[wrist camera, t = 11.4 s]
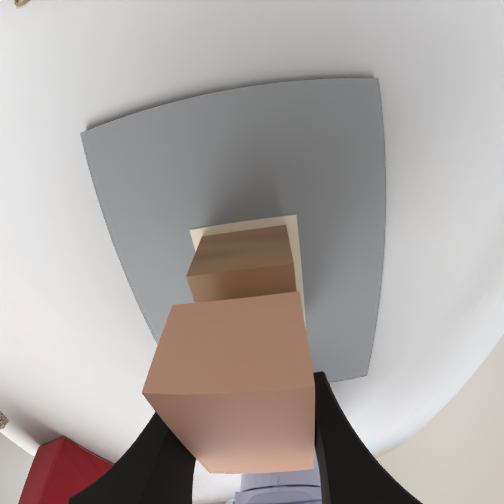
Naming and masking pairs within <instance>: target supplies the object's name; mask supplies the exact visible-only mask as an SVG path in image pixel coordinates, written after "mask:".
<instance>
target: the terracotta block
mask: <svg viewBox="0 0 504 504" xmlns="http://www.w3.org/2000/svg"><path fill="white" fill-rule="evenodd" d="M142 394H143V395H144V396H145V398H146V399H147V400H148V402H149V403H150V404H151V406H152V407H153V408H154V410H155V411H156V412H157V414H158V415H159V416H160V417H161V419H162V420H163V421H164V422H165V424H166V425H167V426H168V427H169V428H170V430H171V431H172V432H173V433H174V434H175V436H176V437H177V438H178V439H179V440H180V441H181V443H182V444H183V445H184V446H185V447H186V448H187V449H188V450H189V452H190V453H191V454H192V455H193V456H194V457H195V458H196V459H197V460H198V461H199V462H200V463H201V464H202V465H203V466H204V467H205V468H206V470H207V471H208V472H209V473H226V474H251V473H275V472H288V471H298V470H307V469H313V466H314V437H315V383H314V376H313V370H312V363H311V357H310V351H309V345H308V339H307V333H306V327H305V322H304V316H303V310H302V305H301V299H300V294H299V291H296V292H289V293H281V294H273V295H265V296H256V297H247V298H238V299H229V300H220V301H210V302H199V303H188V304H177V305H172V308H171V310H170V313H169V316H168V318H167V321H166V324H165V327H164V329H163V332H162V335H161V338H160V341H159V343H158V346H157V349H156V352H155V355H154V358H153V361H152V364H151V367H150V370H149V373H148V376H147V379H146V382H145V385H144V388H143V391H142Z"/></svg>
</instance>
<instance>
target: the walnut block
mask: <svg viewBox="0 0 504 504" xmlns="http://www.w3.org/2000/svg"><path fill="white" fill-rule="evenodd" d="M186 278H187V281H188V284H189V287H190V290H191V293H192V296H193V299H194V302H195V303H199V302H210V301H220V300H229V299H238V298H247V297H256V296H265V295H273V294H281V293H289V292H296V291H297V290H296V280H295V270H294V262H293V257H292V251H291V246H290V241H289V236H288V232H287V227H286V225H280V226H272V227H265V228H257V229H250V230H243V231H236V232H229V233H222V234H215V235H208V236H202V237H201V240H200V242H199V245H198V247H197V250H196V252H195V255H194V257H193V260H192V262H191V265H190V268H189V270H188V273H187V275H186Z"/></svg>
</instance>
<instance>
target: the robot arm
mask: <svg viewBox="0 0 504 504" xmlns="http://www.w3.org/2000/svg"><path fill="white" fill-rule="evenodd" d="M313 376H314V383H315V437H314V466H313V469H307V470H298V471H288V472H275V473H251V474H241V490H240V492H235V499H231V500H228V501H227V503H226V504H422V503H421V502H420V501H418V500H417V499H416V498H415V497H413V496H412V495H411V494H410V493H409V492H407V491H406V490H405V489H404V488H403V487H402V486H401V485H400V484H399V483H398V482H396V481H395V480H394V479H393V478H392V476H391V475H390V474H389V473H388V472H387V471H386V470H385V469H384V468H383V467H382V466H381V465H380V464H379V463H378V461H377V460H376V459H375V458H374V457H373V455H372V454H371V453H370V452H369V450H368V449H367V448H366V446H365V445H364V444H363V442H362V441H361V440H360V438H359V437H358V435H357V434H356V432H355V431H354V429H353V428H352V426H351V425H350V423H349V421H348V420H347V418H346V416H345V415H344V413H343V411H342V409H341V408H340V406H339V404H338V402H337V400H336V398H335V396H334V394H333V392H332V390H331V387H330V385H329V383H328V380H327V377H326V374H325V372H323V371H321V372H314V373H313ZM195 462H196V458H195V457H194V456H193V455H192V454H191V453H190V452H189V450H188V449H187V448H186V447H185V446H184V445H183V444H182V443H181V441H180V440H179V439H178V438H177V437H176V436H175V434H174V433H173V432H172V431H171V430H170V428H169V427H168V426H167V425H166V424H165V422H164V421H163V420H162V419H161V417H160V416H159V415H158V414H157V412H155V414H154V415H153V417H152V418H151V420H150V421H149V423H148V424H147V426H146V427H145V428H144V430H143V431H142V432H141V434H140V435H139V437H138V438H137V439H136V441H135V442H134V443H133V444H132V446H131V447H130V448H129V449H128V450H127V451H126V453H125V454H124V455H123V456H122V457H121V458H120V459H119V460H118V461H117V462H116V463H115V464H114V465H113V466H112V467H111V468H110V469H109V470H108V471H107V472H106V473H105V474H103V475H102V476H101V477H100V478H98V479H97V480H96V481H95V482H93V483H92V484H91V485H89V486H88V487H87V488H85V489H83V490H82V491H80V492H79V493H77V494H76V495H74V496H72V497H71V498H69V501H68V504H192V485H193V474H194V468H195Z"/></svg>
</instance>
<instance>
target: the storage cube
mask: <svg viewBox="0 0 504 504" xmlns="http://www.w3.org/2000/svg"><path fill="white" fill-rule="evenodd" d="M113 465H114V464H112V463H110V462H108V461H106V460H104V459H102V458H100V457H98V456H97V455H95V454H93V453H91V452H90V451H88V450H86V449H85V448H83V447H81V446H80V445H78V444H76V443H75V442H73V441H71V440H70V439H68V438H67V437H61V438H58V439H56V440H54V441H52V442H50V443H47V444H45V445H42V446H40V447H39V448H38V450H37V453H36V455H35V458H34V460H33V463H32V466H31V468H30V471H29V474H28V477H27V479H26V482H25V485H24V488H23V491H22V494H21V497H20V500H19V503H18V504H68V501H69V498H71V497H72V496H74V495H76V494H77V493H79V492H80V491H82V490H83V489H85V488H87V487H88V486H89V485H91V484H92V483H93V482H95V481H96V480H97V479H98V478H100V477H101V476H102V475H103V474H105V473H106V472H107V471H108V470H109V469H110V468H111V467H112V466H113Z"/></svg>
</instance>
